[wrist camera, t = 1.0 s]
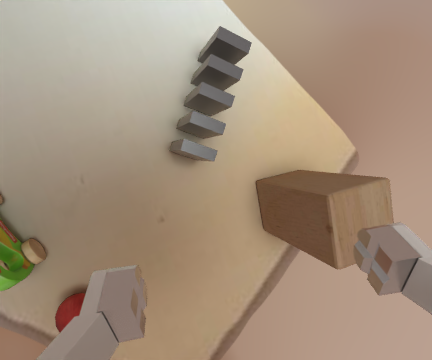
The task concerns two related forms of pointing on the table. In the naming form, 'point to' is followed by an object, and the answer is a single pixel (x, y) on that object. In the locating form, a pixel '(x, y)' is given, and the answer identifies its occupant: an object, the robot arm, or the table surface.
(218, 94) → the domino
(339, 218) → the wooden block
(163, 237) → the table surface
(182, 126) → the domino
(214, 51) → the domino
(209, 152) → the domino
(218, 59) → the domino
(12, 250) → the toy lion
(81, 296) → the onion
